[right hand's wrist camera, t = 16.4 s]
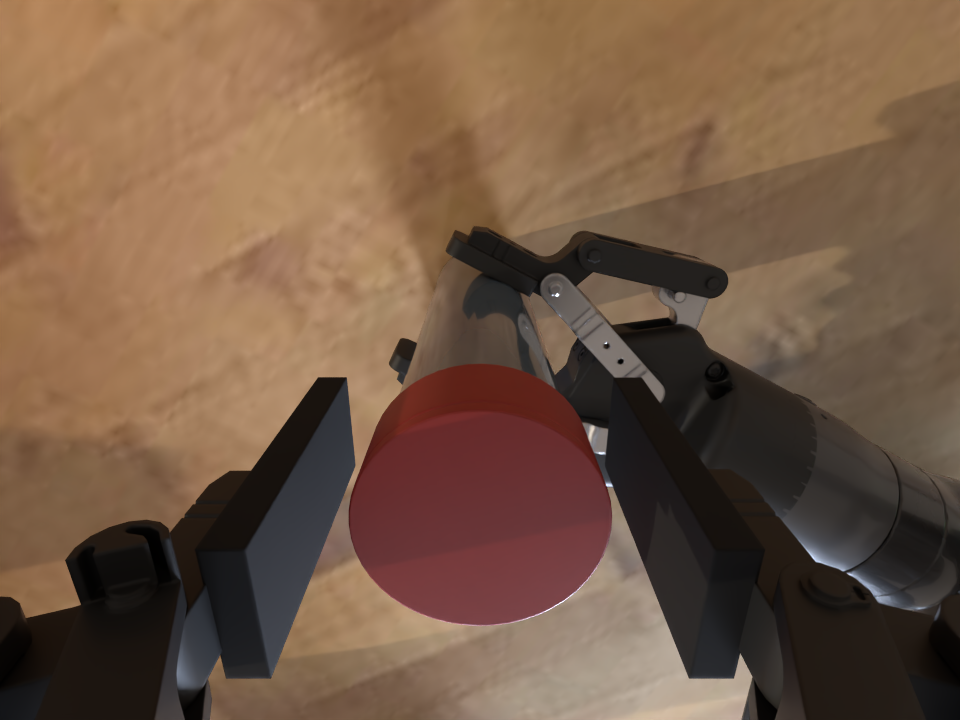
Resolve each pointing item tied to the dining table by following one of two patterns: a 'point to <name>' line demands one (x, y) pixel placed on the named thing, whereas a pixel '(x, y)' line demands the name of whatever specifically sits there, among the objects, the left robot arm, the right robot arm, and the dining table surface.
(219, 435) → the dining table surface
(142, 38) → the dining table surface
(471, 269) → the grey cylinder
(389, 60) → the dining table surface
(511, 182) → the dining table surface
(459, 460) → the lid
